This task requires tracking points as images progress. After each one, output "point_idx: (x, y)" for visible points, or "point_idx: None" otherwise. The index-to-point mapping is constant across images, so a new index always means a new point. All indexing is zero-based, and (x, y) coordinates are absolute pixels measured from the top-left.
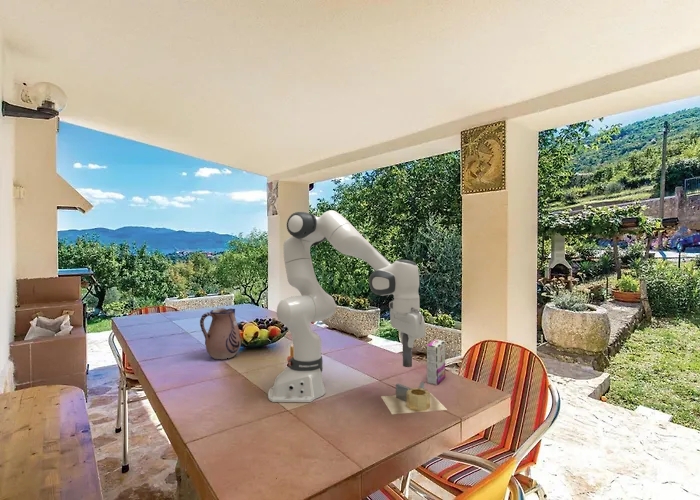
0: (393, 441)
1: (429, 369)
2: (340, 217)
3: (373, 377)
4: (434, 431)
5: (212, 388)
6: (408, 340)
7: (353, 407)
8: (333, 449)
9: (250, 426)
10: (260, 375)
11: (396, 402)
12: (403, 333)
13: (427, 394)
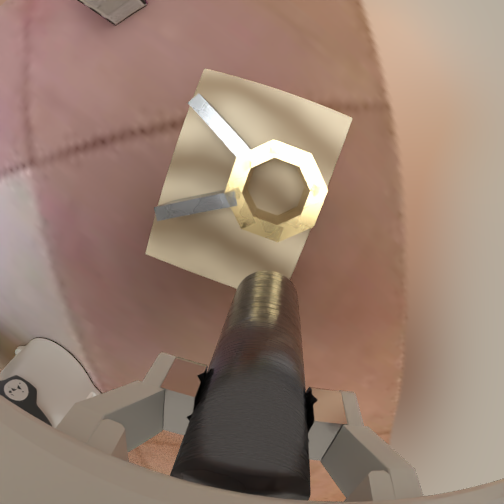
0: (372, 357)
1: (99, 1)
2: None
3: (12, 171)
4: (404, 240)
5: None
6: (338, 480)
7: (163, 344)
8: None
9: None
10: None
11: (212, 237)
12: (126, 453)
13: (316, 173)
